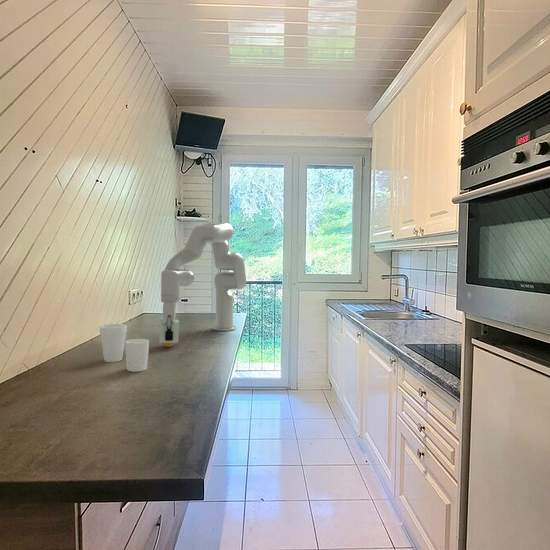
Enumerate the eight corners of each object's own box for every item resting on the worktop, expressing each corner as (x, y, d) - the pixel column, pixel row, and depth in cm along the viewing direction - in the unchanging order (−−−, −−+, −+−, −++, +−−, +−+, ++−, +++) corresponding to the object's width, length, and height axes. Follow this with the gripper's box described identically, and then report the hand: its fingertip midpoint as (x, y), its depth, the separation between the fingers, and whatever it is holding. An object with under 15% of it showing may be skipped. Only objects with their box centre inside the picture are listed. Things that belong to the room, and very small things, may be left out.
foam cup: (94, 360, 147) (94, 326, 147) (114, 355, 156) (114, 322, 155) (111, 364, 143) (112, 329, 142) (131, 358, 151) (132, 325, 151)
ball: (164, 333, 174) (175, 336, 175) (161, 344, 173) (172, 346, 175) (164, 335, 169) (176, 338, 170) (161, 346, 169) (172, 349, 170)
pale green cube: (160, 339, 175) (160, 319, 175) (178, 338, 177) (178, 319, 176) (159, 343, 168) (159, 322, 167) (178, 342, 169) (178, 322, 169)
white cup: (152, 366, 142) (152, 339, 141) (142, 373, 134) (143, 344, 133) (131, 365, 142) (131, 338, 142) (120, 371, 135) (120, 342, 134)
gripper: (161, 296, 179) (161, 334, 180) (159, 300, 162) (159, 342, 163) (178, 296, 181) (178, 334, 181) (178, 300, 164) (177, 342, 165)
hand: (169, 338), depth 172 cm, fingers closed on pale green cube, 7 cm apart
